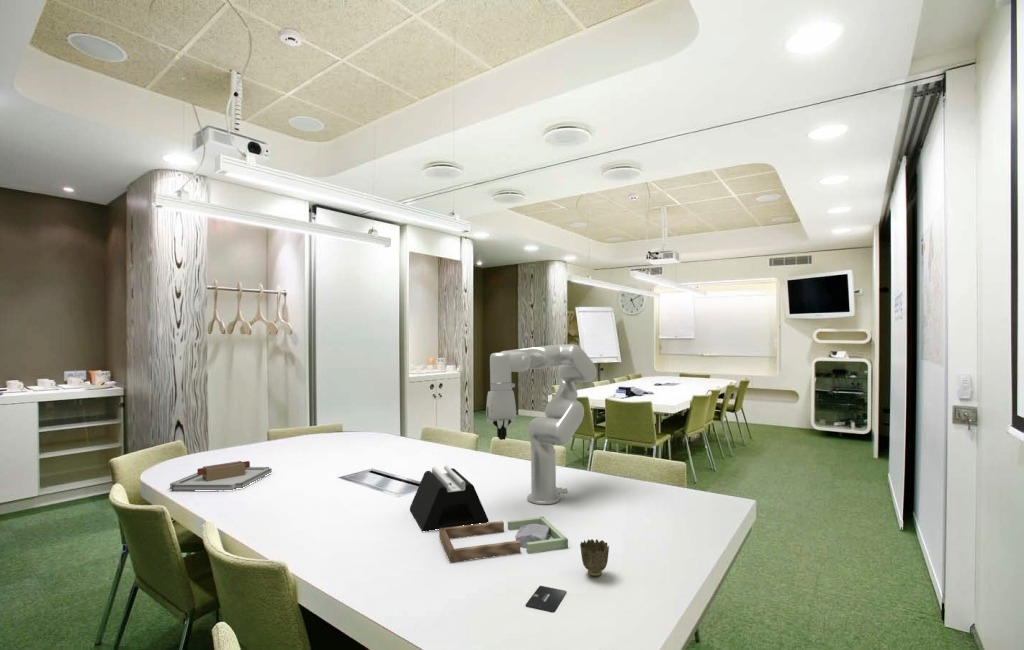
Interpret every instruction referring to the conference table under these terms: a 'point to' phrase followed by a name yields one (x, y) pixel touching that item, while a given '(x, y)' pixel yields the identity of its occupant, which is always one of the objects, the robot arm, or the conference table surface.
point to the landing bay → (544, 545)
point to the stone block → (532, 534)
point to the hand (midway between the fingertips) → (501, 438)
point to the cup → (594, 556)
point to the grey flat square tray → (221, 477)
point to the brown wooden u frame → (476, 551)
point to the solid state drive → (546, 599)
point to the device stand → (446, 501)
